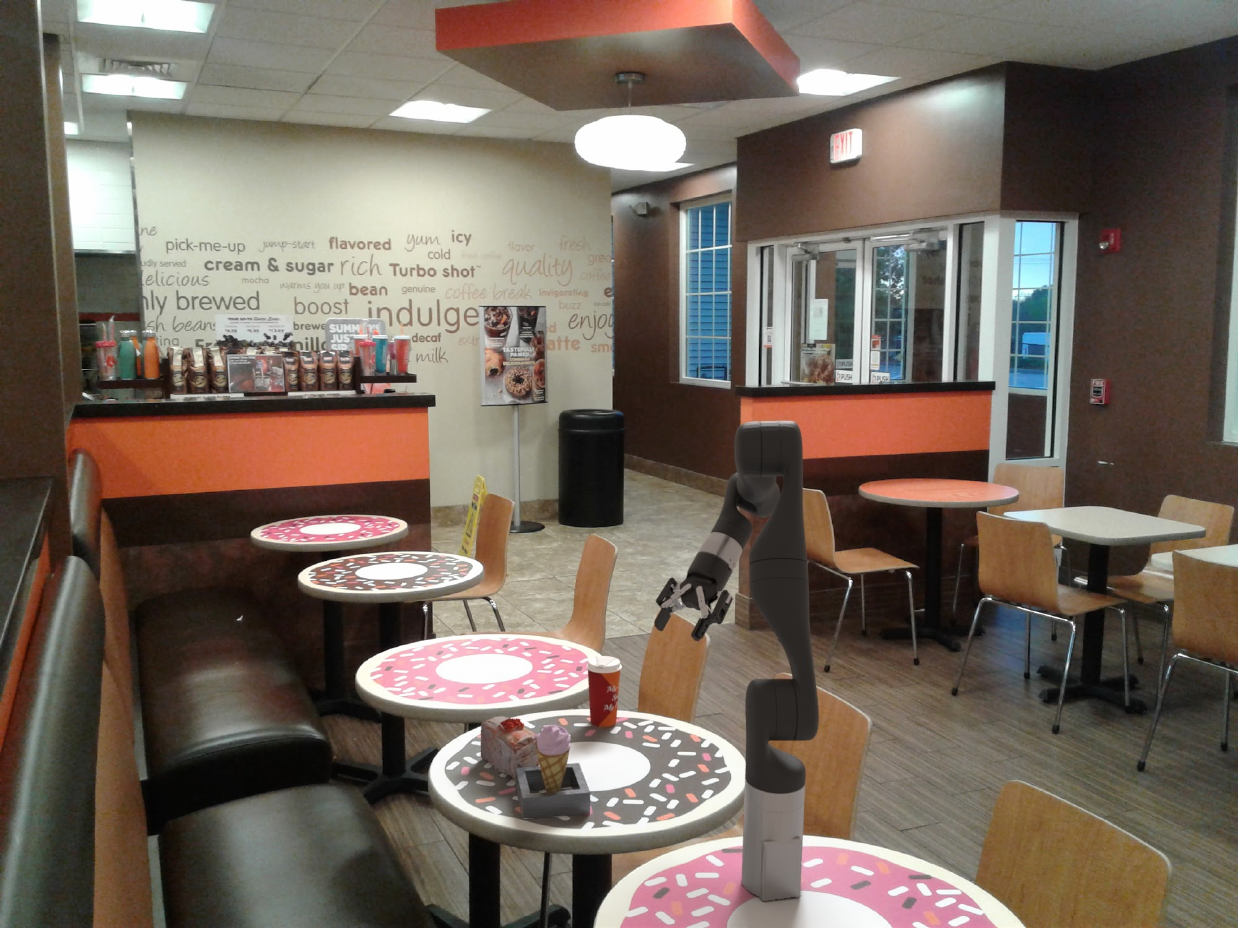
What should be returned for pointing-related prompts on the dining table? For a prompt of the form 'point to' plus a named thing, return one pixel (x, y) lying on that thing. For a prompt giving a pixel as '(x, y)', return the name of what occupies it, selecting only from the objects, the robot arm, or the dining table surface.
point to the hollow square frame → (552, 793)
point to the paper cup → (603, 690)
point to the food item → (508, 745)
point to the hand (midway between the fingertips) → (675, 633)
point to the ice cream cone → (553, 755)
